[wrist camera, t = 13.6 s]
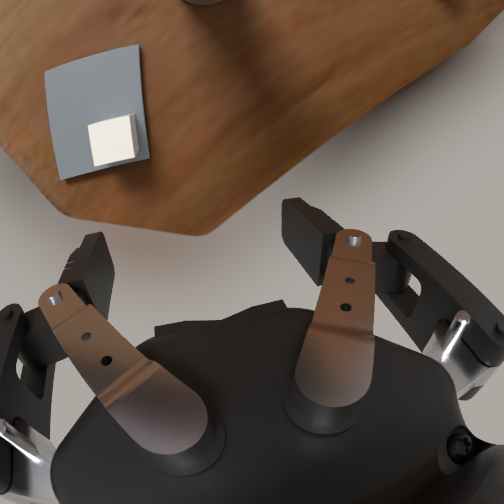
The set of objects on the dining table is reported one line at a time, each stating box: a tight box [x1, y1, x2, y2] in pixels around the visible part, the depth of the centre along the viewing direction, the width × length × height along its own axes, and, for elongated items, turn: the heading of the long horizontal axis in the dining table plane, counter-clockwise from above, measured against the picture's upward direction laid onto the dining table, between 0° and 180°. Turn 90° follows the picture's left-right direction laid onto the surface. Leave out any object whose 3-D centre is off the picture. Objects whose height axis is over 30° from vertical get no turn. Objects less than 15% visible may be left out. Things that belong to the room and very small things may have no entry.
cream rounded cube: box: [88, 113, 139, 167], centre depth 32 cm, size 6×6×6 cm
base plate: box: [45, 44, 150, 180], centre depth 32 cm, size 15×18×2 cm
